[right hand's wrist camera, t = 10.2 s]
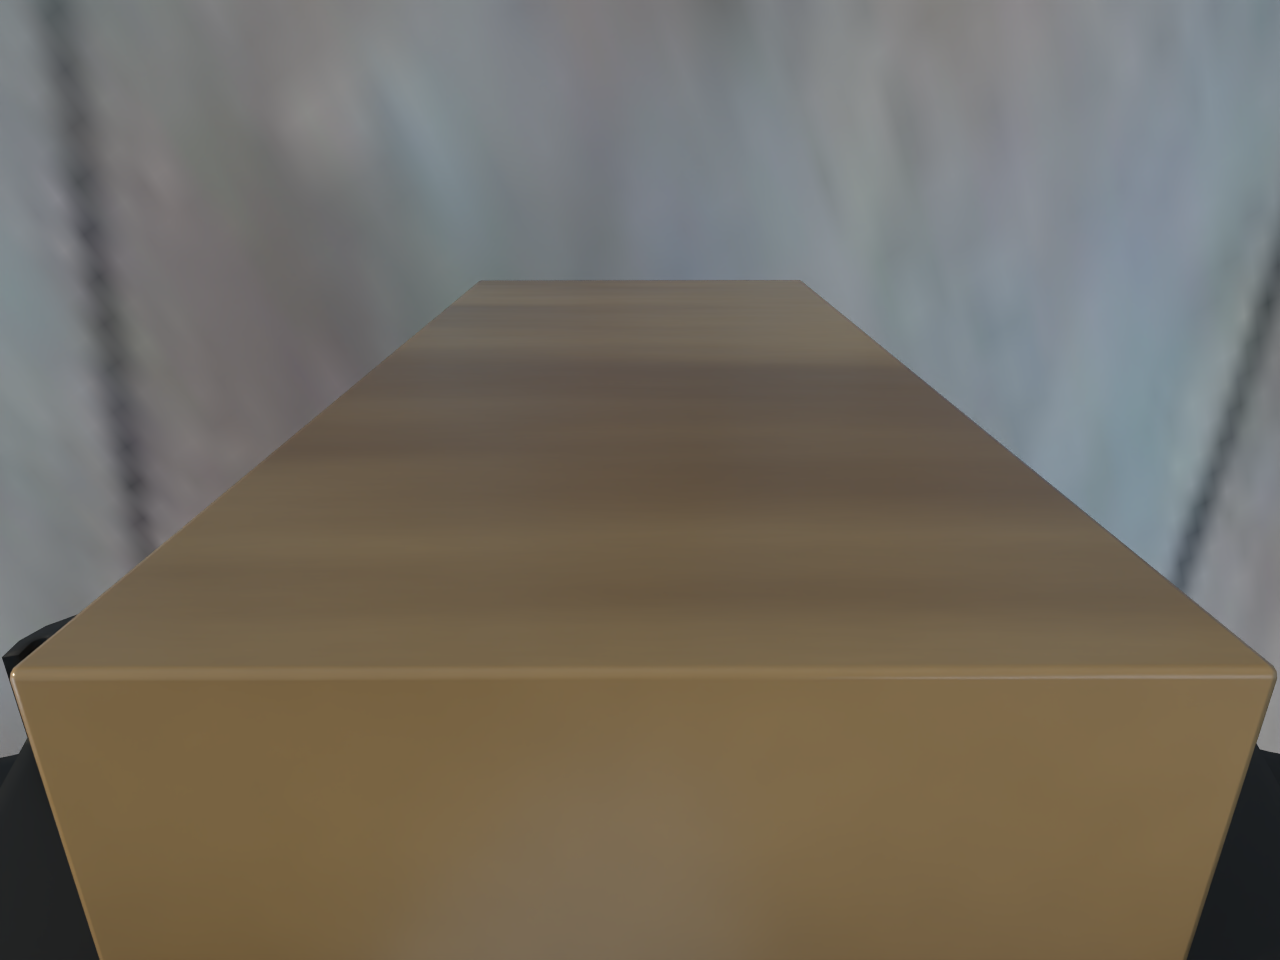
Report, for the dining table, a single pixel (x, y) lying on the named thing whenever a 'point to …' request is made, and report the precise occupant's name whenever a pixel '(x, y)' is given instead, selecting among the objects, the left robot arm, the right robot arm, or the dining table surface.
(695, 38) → the dining table surface
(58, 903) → the right robot arm
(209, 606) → the box
